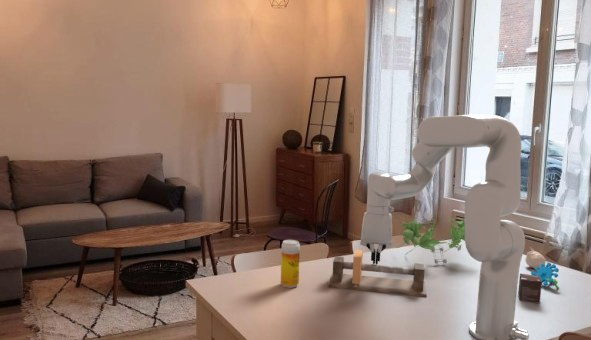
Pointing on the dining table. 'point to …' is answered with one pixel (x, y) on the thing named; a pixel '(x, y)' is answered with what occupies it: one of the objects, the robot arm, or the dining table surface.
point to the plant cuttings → (428, 243)
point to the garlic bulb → (534, 259)
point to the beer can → (290, 263)
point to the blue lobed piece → (547, 274)
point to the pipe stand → (379, 278)
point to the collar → (357, 266)
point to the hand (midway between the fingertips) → (375, 262)
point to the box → (529, 288)
